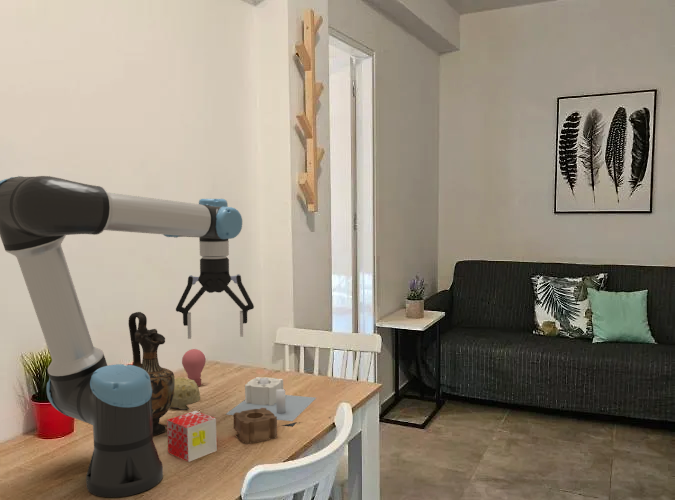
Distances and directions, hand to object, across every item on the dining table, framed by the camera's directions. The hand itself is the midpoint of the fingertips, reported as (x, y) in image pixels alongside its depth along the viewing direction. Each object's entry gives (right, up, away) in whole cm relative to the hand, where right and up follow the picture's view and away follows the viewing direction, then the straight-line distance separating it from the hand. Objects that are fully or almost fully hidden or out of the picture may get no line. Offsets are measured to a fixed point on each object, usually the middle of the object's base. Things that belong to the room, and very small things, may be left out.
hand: (215, 336), depth 165 cm
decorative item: (-11, -21, +11) cm, 26 cm away
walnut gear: (+12, -23, -12) cm, 28 cm away
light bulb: (-12, -20, +27) cm, 35 cm away
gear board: (+15, -21, +5) cm, 26 cm away
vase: (-15, -23, -8) cm, 28 cm away
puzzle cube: (-1, -24, -21) cm, 32 cm away
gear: (+12, -19, +10) cm, 25 cm away
